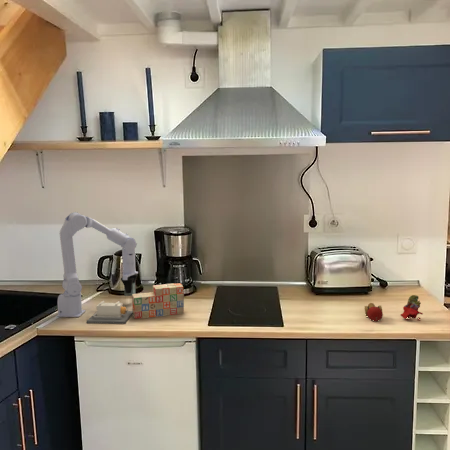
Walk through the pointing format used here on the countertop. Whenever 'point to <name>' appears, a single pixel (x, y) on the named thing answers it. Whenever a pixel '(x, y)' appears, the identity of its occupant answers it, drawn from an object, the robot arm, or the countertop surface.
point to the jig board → (110, 318)
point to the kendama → (373, 312)
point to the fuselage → (110, 309)
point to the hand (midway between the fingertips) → (129, 291)
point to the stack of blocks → (159, 301)
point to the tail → (131, 290)
